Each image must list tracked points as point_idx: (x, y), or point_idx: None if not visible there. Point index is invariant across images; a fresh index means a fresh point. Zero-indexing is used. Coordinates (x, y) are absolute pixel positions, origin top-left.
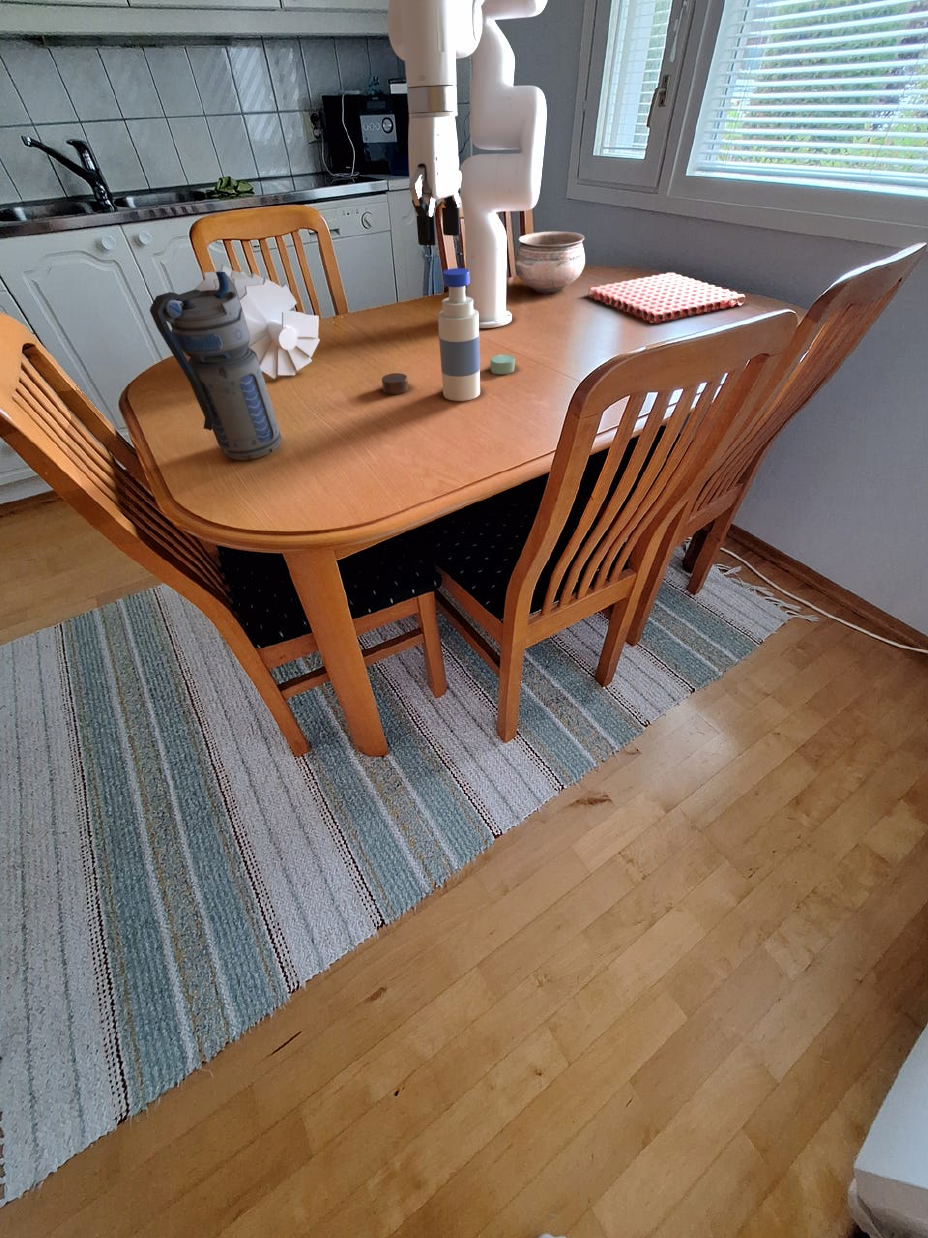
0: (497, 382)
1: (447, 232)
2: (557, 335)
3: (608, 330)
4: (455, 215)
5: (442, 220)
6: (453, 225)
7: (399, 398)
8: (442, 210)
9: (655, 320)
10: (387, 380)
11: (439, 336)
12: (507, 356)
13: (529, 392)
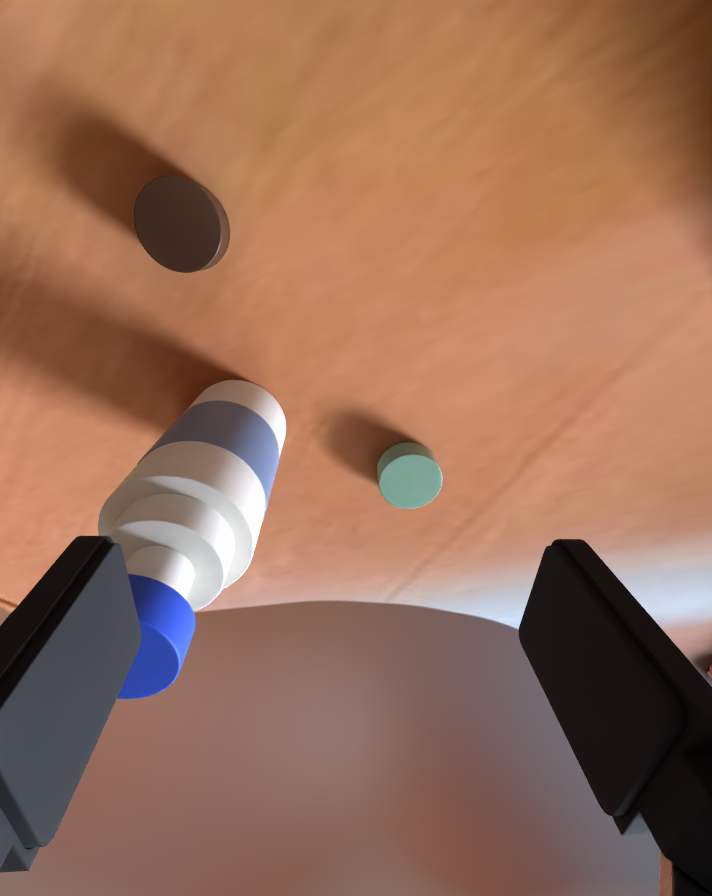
0: (328, 480)
1: (544, 580)
2: (652, 524)
3: (675, 607)
4: (581, 750)
5: (613, 610)
6: (548, 663)
7: (138, 271)
8: (658, 700)
9: (709, 674)
10: (149, 210)
11: (149, 453)
12: (427, 488)
13: (296, 551)
